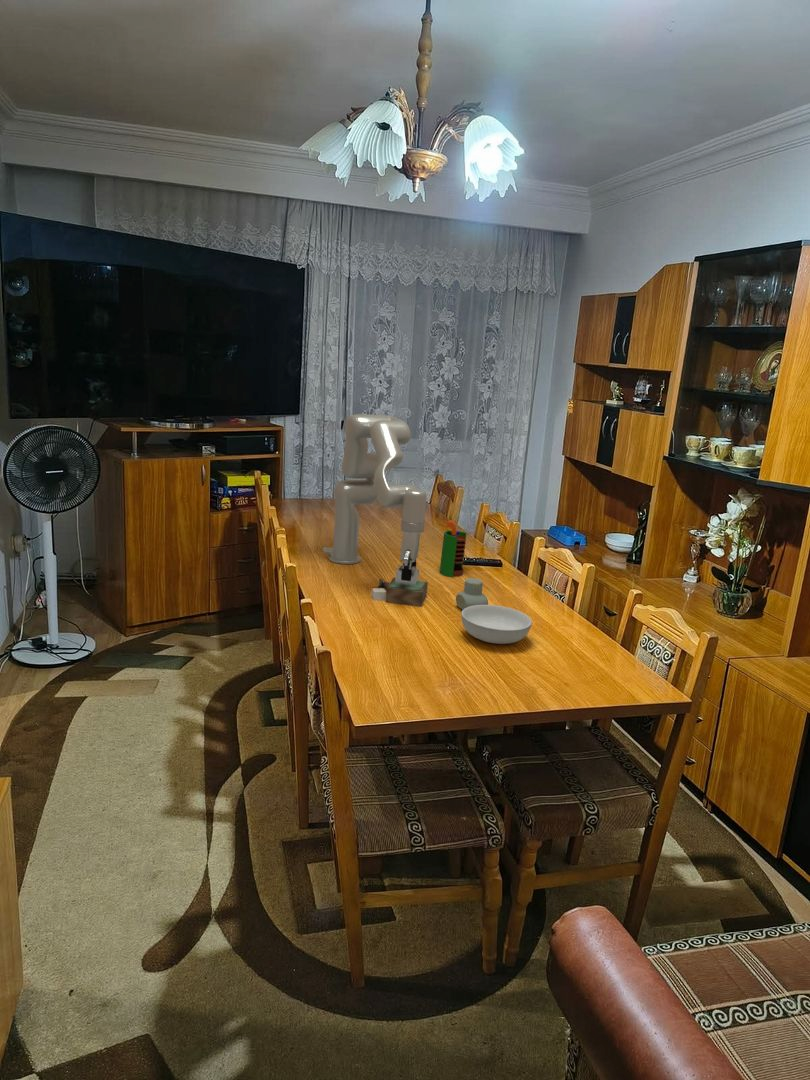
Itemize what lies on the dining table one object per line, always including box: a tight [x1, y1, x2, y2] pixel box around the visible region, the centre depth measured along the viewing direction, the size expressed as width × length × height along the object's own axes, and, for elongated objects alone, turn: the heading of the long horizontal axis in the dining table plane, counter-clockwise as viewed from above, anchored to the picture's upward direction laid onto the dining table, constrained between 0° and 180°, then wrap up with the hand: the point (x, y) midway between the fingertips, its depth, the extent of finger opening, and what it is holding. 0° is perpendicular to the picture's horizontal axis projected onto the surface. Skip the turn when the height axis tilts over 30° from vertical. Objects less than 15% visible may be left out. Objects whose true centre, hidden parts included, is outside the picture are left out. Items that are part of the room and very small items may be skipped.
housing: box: [395, 564, 420, 587], centre depth 249 cm, size 7×5×6 cm
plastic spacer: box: [371, 587, 387, 601], centre depth 249 cm, size 4×4×3 cm
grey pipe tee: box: [455, 577, 489, 611], centre depth 245 cm, size 11×8×10 cm
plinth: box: [385, 577, 429, 608], centre depth 250 cm, size 12×12×5 cm
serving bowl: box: [460, 604, 533, 645], centre depth 222 cm, size 21×21×7 cm
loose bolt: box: [378, 578, 390, 588], centre depth 261 cm, size 6×3×3 cm, turn 80°
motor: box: [439, 520, 468, 578], centre depth 282 cm, size 10×9×20 cm
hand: (408, 576), depth 249 cm, fingers open, 9 cm apart
